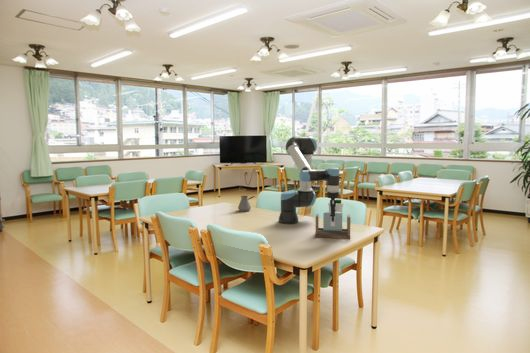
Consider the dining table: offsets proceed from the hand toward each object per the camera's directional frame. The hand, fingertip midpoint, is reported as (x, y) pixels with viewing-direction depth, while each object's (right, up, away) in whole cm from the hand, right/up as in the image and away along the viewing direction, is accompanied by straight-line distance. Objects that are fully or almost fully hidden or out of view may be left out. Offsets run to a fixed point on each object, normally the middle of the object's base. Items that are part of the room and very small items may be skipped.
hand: (332, 223), depth 239 cm
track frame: (0, -8, +1) cm, 8 cm away
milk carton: (+6, -6, +20) cm, 22 cm away
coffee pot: (-59, 0, +77) cm, 97 cm away
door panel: (0, -7, +1) cm, 7 cm away
